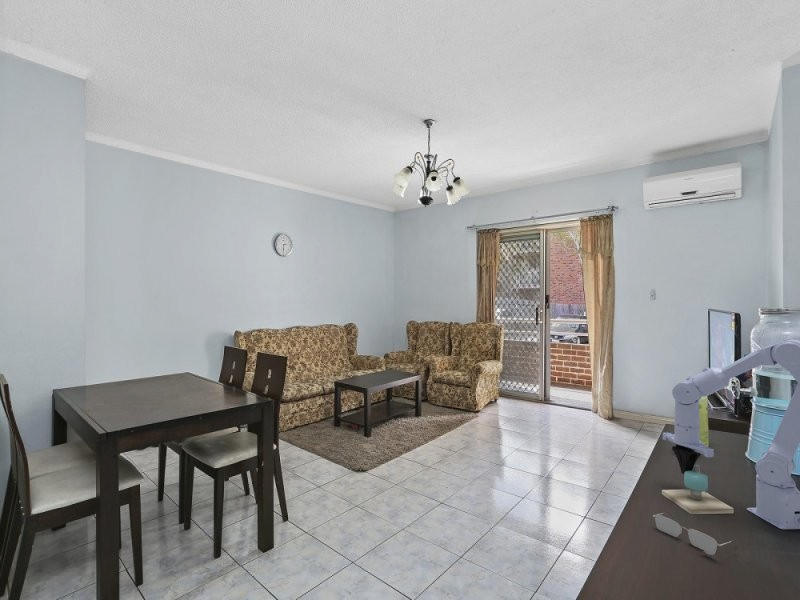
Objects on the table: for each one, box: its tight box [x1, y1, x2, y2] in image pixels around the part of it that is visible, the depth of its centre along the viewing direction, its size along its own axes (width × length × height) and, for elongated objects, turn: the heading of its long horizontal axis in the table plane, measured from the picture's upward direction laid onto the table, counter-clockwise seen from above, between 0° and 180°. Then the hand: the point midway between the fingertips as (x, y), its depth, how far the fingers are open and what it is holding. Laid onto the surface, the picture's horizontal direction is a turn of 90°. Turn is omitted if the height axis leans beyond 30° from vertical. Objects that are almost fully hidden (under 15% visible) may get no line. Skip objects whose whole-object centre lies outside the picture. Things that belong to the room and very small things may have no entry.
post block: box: [661, 488, 735, 515], centre depth 110 cm, size 11×11×4 cm
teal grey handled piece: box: [683, 463, 709, 492], centre depth 113 cm, size 12×5×3 cm, turn 143°
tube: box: [698, 396, 710, 447], centre depth 153 cm, size 6×5×20 cm
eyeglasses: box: [652, 511, 738, 556], centre depth 94 cm, size 14×8×4 cm, turn 29°
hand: (686, 473), depth 116 cm, fingers closed
